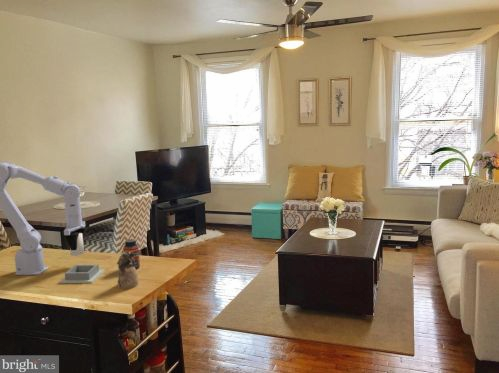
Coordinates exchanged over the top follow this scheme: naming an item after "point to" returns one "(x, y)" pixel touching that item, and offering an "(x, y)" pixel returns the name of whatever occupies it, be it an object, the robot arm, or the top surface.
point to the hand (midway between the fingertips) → (76, 247)
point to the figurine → (127, 271)
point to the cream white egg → (78, 246)
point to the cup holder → (82, 274)
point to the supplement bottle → (134, 248)
